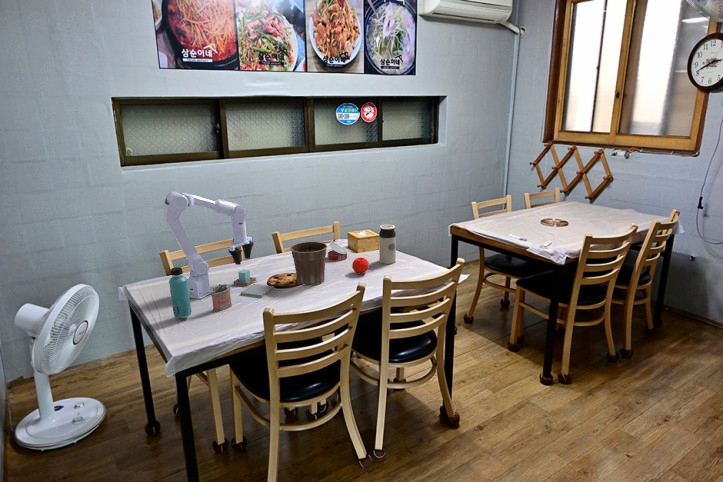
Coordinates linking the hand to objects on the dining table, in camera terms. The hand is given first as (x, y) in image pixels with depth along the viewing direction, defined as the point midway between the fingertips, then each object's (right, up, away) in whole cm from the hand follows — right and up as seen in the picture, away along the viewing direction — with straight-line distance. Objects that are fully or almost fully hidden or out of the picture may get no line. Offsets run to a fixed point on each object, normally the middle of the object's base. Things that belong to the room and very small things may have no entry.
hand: (242, 261), depth 211 cm
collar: (0, -10, +3) cm, 10 cm away
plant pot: (+29, -9, +4) cm, 31 cm away
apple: (+52, -6, +12) cm, 54 cm away
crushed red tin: (-2, -18, -23) cm, 29 cm away
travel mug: (+65, -1, +26) cm, 70 cm away
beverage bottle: (-15, -20, -30) cm, 39 cm away
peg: (0, -10, +3) cm, 10 cm away
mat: (+8, -12, -7) cm, 17 cm away
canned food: (+40, 0, +33) cm, 52 cm away
